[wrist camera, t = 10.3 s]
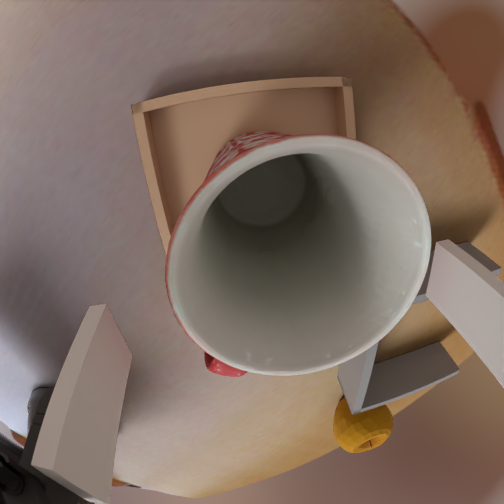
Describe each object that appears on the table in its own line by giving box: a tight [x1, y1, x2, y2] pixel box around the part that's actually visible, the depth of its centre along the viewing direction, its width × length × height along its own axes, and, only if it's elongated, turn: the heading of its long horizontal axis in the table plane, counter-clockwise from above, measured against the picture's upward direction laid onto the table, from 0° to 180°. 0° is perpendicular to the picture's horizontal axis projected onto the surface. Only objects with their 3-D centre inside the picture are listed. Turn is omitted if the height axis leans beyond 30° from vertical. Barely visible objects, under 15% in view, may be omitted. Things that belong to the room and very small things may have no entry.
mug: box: [165, 131, 431, 377], centre depth 16 cm, size 13×9×14 cm
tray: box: [131, 77, 356, 256], centre depth 21 cm, size 14×16×2 cm
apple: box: [333, 397, 393, 453], centre depth 34 cm, size 9×8×9 cm
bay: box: [338, 242, 501, 415], centre depth 28 cm, size 16×17×6 cm
